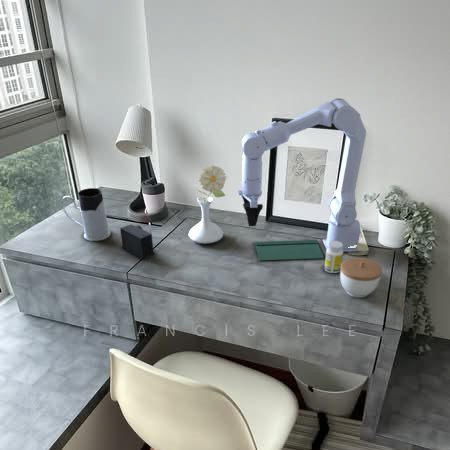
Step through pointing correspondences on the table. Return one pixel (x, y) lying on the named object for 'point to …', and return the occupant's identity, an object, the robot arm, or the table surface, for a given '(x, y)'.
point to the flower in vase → (206, 229)
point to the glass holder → (91, 214)
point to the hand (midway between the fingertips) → (250, 220)
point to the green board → (288, 250)
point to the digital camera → (137, 240)
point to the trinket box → (360, 276)
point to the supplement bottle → (334, 257)
